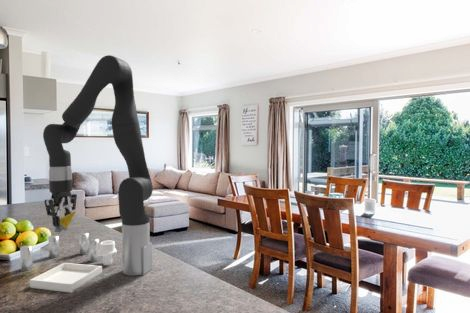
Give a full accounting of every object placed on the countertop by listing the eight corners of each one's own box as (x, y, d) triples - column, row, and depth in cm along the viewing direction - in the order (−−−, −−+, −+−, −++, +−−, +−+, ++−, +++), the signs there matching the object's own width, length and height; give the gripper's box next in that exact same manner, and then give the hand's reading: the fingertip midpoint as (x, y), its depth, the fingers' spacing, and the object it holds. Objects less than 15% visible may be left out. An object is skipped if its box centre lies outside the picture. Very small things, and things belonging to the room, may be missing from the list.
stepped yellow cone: (56, 230, 125) (77, 210, 128) (62, 238, 122) (83, 218, 125) (46, 225, 121) (67, 204, 123) (52, 233, 118) (73, 212, 120)
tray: (102, 273, 114) (102, 266, 114) (71, 292, 100) (71, 284, 99) (64, 269, 117) (64, 262, 117) (29, 287, 103) (29, 279, 103)
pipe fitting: (94, 264, 122) (93, 243, 122) (111, 259, 128) (111, 238, 128) (103, 268, 118) (103, 246, 118) (121, 262, 124) (120, 241, 124)
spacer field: (110, 253, 134) (110, 234, 134) (71, 275, 112) (71, 252, 111) (64, 249, 139) (64, 231, 138) (18, 270, 116) (17, 248, 116)
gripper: (54, 181, 114) (56, 230, 114) (82, 176, 128) (84, 220, 128) (36, 180, 115) (38, 229, 116) (65, 176, 129) (67, 219, 130)
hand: (62, 224), depth 122 cm, fingers closed on stepped yellow cone, 5 cm apart
